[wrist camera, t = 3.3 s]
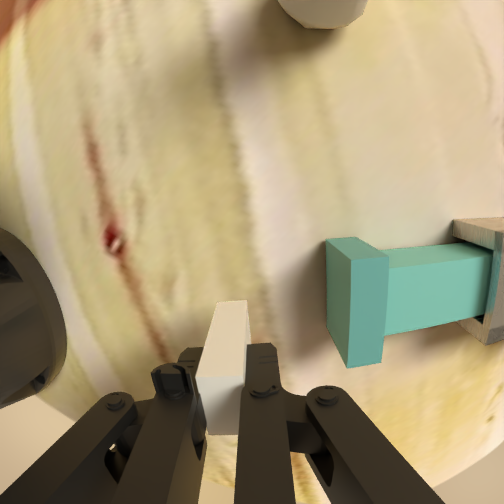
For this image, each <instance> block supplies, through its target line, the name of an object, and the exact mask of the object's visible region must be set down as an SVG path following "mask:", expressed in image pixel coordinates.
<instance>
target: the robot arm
mask: <svg viewBox="0 0 504 504" xmlns="http://www.w3.org/2000/svg"><path fill="white" fill-rule="evenodd" d="M66 345H67V343H66V330H65V324H64V319H63V315H62V312H61V308H60V305H59V302H58V299H57V297H56V294H55V292H54V289H53V287H52V285H51V283H50V281H49V279H48V277H47V275H46V273H45V272H44V270H43V268H42V267H41V265H40V264H39V262H38V261H37V259H36V258H35V257H34V255H33V254H32V253H31V251H30V250H29V249H28V248H27V247H26V246H25V245H24V244H23V243H22V242H21V241H20V240H19V239H18V238H16V237H15V236H14V235H12V234H11V233H9V232H8V231H6V230H4V229H1V228H0V409H1V408H4V407H6V406H8V405H11V404H13V403H15V402H18V401H20V400H23V399H25V398H27V397H30V396H32V395H34V394H37V393H39V392H40V391H42V390H43V389H44V388H46V387H47V386H48V385H49V383H50V382H51V381H52V380H53V379H54V378H55V377H56V375H57V374H58V373H59V372H60V370H61V368H62V366H63V364H64V360H65V356H66ZM151 376H152V380H153V383H154V387H155V390H156V395H155V397H154V398H153V399H149V400H144V401H137V402H134V399H133V398H132V396H131V395H130V394H127V393H125V392H114V393H110V394H108V395H105V396H104V397H102V398H101V399H100V400H99V401H98V402H97V403H96V404H95V405H94V406H93V407H92V408H91V409H90V410H89V411H87V412H86V413H85V414H84V415H83V416H82V417H81V418H80V419H79V420H78V421H77V422H76V423H75V424H74V425H73V426H72V427H71V428H70V429H69V430H68V431H67V432H66V433H65V434H64V435H63V436H62V437H60V438H59V439H58V440H57V441H56V442H55V443H54V444H53V445H52V446H51V447H50V448H49V449H48V450H47V451H46V452H45V453H44V454H43V455H42V456H41V457H40V458H39V459H38V460H36V461H35V462H34V463H33V464H32V465H31V466H30V467H29V468H28V469H27V470H26V471H25V472H24V473H23V474H22V475H21V476H20V477H19V478H18V479H17V480H16V481H15V482H14V483H13V484H12V485H10V486H9V487H8V488H7V489H6V490H5V491H4V492H3V493H2V494H1V495H0V504H198V499H199V492H200V486H201V480H202V474H203V467H204V461H205V455H206V449H207V441H206V437H205V431H206V426H207V430H208V434H209V435H238V447H237V462H236V478H235V494H234V504H296V501H295V492H294V483H293V474H292V466H291V457H290V452H297V453H305V457H306V459H307V461H308V462H309V464H310V466H311V468H312V470H313V472H314V473H315V475H316V477H317V479H318V481H319V482H320V484H321V486H322V488H323V490H324V491H325V493H326V495H327V497H328V498H329V500H330V502H331V504H445V503H444V502H443V501H442V500H441V498H440V497H439V496H438V495H437V494H436V493H435V492H434V491H433V490H432V488H431V487H430V486H429V485H428V484H427V483H426V482H425V481H424V480H423V479H422V477H421V476H420V475H419V474H418V473H417V472H416V471H415V470H414V469H413V467H412V466H411V465H410V464H409V463H408V462H407V461H406V460H405V458H404V457H403V456H402V455H401V454H400V453H399V452H398V451H397V450H396V448H395V447H394V446H393V445H392V444H391V443H390V442H389V440H388V439H387V438H386V437H385V436H384V435H383V434H382V433H381V431H380V430H379V429H378V428H377V427H376V426H375V425H374V423H373V422H372V421H371V420H370V419H369V418H368V417H367V415H366V414H365V413H364V412H363V411H362V410H361V408H360V407H359V406H358V405H357V404H356V403H355V402H354V400H353V399H352V398H351V397H350V396H349V395H348V393H347V392H346V391H344V390H343V389H342V388H339V387H336V386H327V385H326V386H320V387H317V388H314V389H312V390H311V391H310V392H309V393H308V394H307V396H300V395H295V394H292V393H289V392H287V391H286V390H284V389H283V387H282V386H281V382H280V374H279V366H278V358H277V350H276V348H275V347H274V346H273V345H272V344H271V343H260V344H251V336H250V326H249V315H248V305H247V300H240V301H225V302H217V305H216V308H215V312H214V315H213V318H212V322H211V325H210V328H209V332H208V335H207V339H206V342H205V345H204V347H197V348H187V349H186V350H185V351H183V352H182V353H181V354H180V357H179V359H178V362H177V363H167V364H164V365H160V366H158V367H157V368H155V369H154V370H153V371H152V372H151ZM113 444H115V447H114V448H113V449H112V450H110V449H109V448H110V447H111V446H112V445H113Z"/></svg>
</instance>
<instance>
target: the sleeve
mask: <svg viewBox="0 0 504 504" xmlns="http://www.w3.org/2000/svg"><path fill="white" fill-rule="evenodd" d="M453 236H455V237H458V238H461V239H464V240H467V241H469V242H472V243H475V244H478V245H481V246H484V247H486V248H489V249H492V250H494V252H493V263H492V272H491V279H490V287H489V293H488V299H487V305H486V311H485V314H482V315H478V316H474V317H470V318H466V319H462V320H458V321H455V322H456V323H458V324H459V325H460V326H462V327H463V328H464V329H465V330H467V331H468V332H469V333H470V334H472V335H473V336H474V337H475V338H477V339H478V340H479V341H480V342H482V343H483V344H484V345H485V346H486V345H489V344H492V343H495V342H498V341H501V340H503V339H504V217H500V218H476V219H455V220H453Z"/></svg>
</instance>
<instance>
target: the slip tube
mask: <svg viewBox="0 0 504 504" xmlns="http://www.w3.org/2000/svg"><path fill="white" fill-rule="evenodd" d="M493 252H494V250H492V249H489V248H486V247H484V246H481V245H478V244H475V243H472V242H464V243H453V244H443V245H432V246H421V247H410V248H399V249H388V250H378V249H376V248H374V247H373V246H371V245H369V244H367V243H366V242H364V241H362V240H360V239H359V238H357V237H348V238H335V239H326V279H327V324H326V327H327V329H328V331H329V333H330V335H331V337H332V339H333V341H334V343H335V345H336V347H337V349H338V351H339V353H340V355H341V357H342V359H343V361H344V364H345V366H346V368H354V367H360V366H365V365H371V364H376V363H381V359H382V351H383V343H384V336H385V335H391V334H396V333H402V332H407V331H412V330H417V329H422V328H427V327H432V326H436V325H441V324H445V323H450V322H454V321H458V320H462V319H466V318H470V317H474V316H478V315H482V314H485V311H486V305H487V299H488V293H489V287H490V279H491V272H492V263H493Z"/></svg>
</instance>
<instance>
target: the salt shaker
mask: <svg viewBox="0 0 504 504" xmlns="http://www.w3.org/2000/svg"><path fill="white" fill-rule="evenodd" d="M277 1H278V2H279V4H280V5H281V6H282V8H283V9H284V11H285V12H286V13H287V14H289V15H290V16H291V17H292V18H294V19H295V20H296V21H297V22H299V23H300V24H301V25H302V26H303V27H305V28H312V29H335V28H340V27H345V26H347V25H349V24H350V23H352V22H353V21H354V20H356V19H357V18H358V17H360V16H361V15H363V12H364V9H365V7H366V4H367V1H368V0H277Z"/></svg>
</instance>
